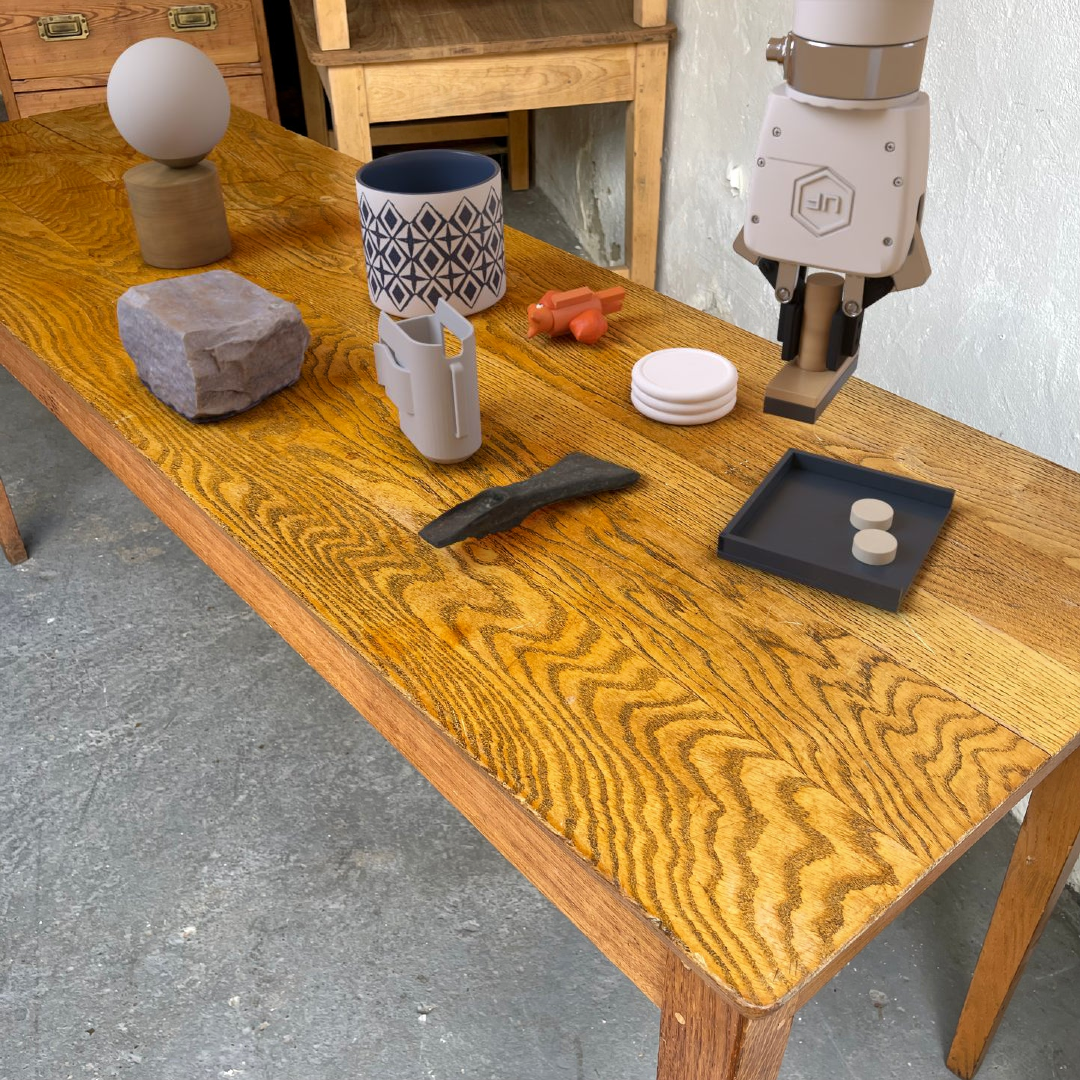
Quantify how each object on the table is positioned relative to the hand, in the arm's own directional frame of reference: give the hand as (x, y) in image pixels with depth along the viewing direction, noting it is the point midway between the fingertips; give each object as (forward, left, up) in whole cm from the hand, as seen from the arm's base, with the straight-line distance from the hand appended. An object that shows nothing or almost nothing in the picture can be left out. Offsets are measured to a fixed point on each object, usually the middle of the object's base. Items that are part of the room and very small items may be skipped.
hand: (815, 355), depth 74 cm
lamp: (+91, -28, -18) cm, 97 cm away
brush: (0, 0, -3) cm, 3 cm away
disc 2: (-5, -4, -17) cm, 18 cm away
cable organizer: (+35, -3, -18) cm, 40 cm away
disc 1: (-4, -8, -17) cm, 19 cm away
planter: (+54, -30, -18) cm, 65 cm away
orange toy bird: (+34, -28, -18) cm, 48 cm away
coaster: (+18, -20, -18) cm, 32 cm away
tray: (-2, -6, -18) cm, 19 cm away
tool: (+22, +3, -18) cm, 29 cm away
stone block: (+60, -2, -18) cm, 63 cm away
